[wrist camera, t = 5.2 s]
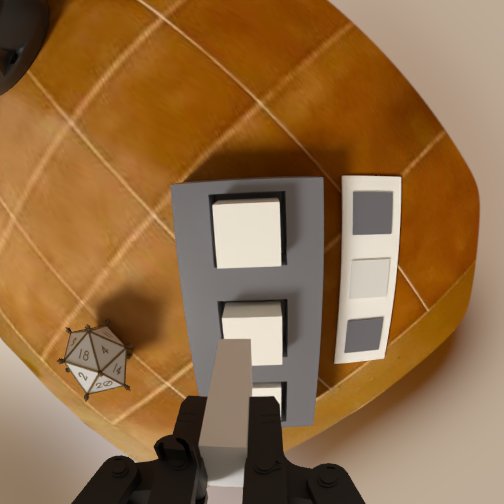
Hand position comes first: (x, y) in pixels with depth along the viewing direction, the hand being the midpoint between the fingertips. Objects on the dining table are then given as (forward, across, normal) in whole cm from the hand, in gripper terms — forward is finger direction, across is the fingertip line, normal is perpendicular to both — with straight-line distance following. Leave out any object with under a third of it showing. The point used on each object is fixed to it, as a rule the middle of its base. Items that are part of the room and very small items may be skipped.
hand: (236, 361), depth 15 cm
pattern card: (+15, +12, -2) cm, 20 cm away
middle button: (+13, +1, -5) cm, 14 cm away
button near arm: (+13, 0, +4) cm, 13 cm away
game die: (+16, -16, -10) cm, 25 cm away
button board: (+16, +1, -5) cm, 16 cm away
